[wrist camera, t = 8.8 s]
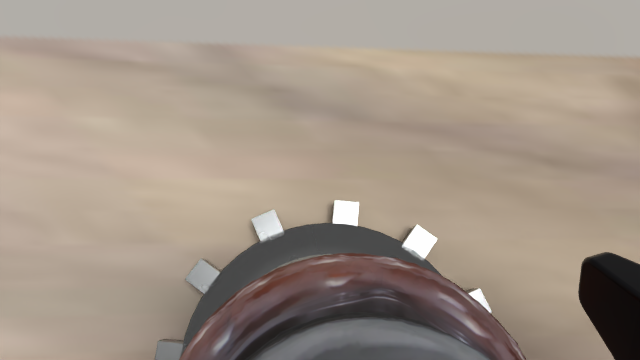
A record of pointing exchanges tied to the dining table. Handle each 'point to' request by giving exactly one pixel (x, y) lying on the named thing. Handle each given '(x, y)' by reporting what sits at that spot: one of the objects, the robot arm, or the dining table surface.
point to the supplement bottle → (352, 316)
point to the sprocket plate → (291, 248)
